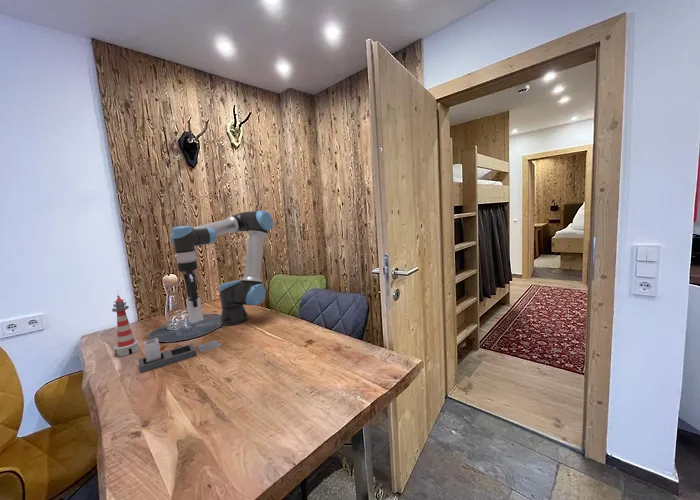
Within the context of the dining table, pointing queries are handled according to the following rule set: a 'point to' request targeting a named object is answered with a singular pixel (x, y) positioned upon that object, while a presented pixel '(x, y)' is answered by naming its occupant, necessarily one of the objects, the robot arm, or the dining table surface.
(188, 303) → the grey square peg
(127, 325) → the miniature lighthouse
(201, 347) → the mat
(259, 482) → the dining table surface
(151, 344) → the silver square post
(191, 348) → the rail
